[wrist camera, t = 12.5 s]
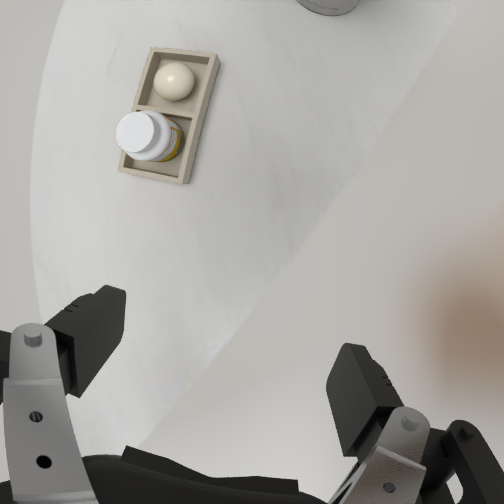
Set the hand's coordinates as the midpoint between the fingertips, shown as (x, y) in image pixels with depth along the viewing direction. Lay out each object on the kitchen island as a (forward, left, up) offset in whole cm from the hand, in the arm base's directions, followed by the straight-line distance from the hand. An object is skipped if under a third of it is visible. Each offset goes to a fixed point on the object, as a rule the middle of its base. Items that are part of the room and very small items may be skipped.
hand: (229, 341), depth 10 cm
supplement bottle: (-7, -12, -28) cm, 31 cm away
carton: (-11, -12, -28) cm, 32 cm away
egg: (-14, -12, -28) cm, 33 cm away
